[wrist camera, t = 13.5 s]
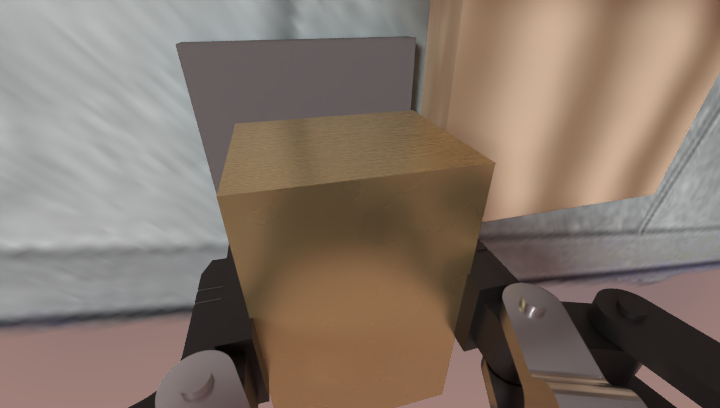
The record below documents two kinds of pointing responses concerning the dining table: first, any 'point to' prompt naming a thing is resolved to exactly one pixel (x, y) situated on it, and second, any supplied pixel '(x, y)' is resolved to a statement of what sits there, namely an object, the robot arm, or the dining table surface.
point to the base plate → (569, 92)
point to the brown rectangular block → (353, 252)
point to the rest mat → (291, 82)
